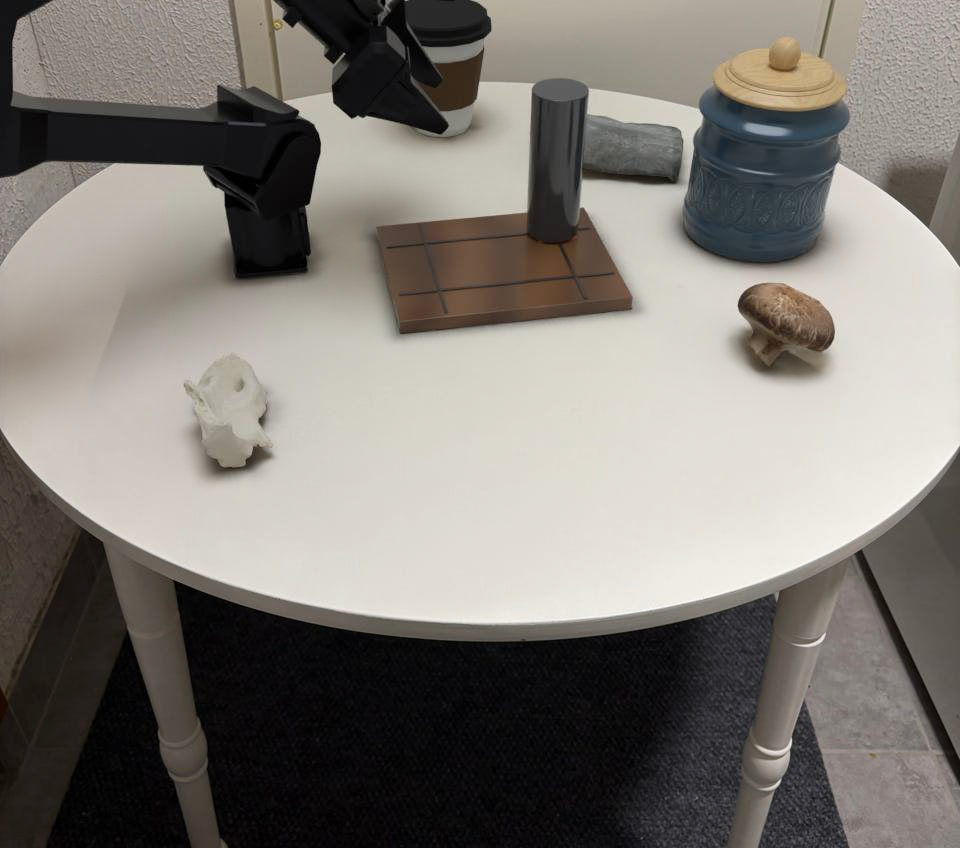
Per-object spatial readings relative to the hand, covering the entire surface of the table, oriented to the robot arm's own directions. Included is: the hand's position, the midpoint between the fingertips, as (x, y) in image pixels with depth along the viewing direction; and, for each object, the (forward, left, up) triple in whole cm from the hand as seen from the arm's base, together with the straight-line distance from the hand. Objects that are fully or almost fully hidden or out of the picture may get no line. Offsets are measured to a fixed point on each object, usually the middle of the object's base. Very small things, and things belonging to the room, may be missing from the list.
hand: (442, 106), depth 89 cm
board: (+4, -7, -13) cm, 15 cm away
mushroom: (+24, -23, -13) cm, 35 cm away
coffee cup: (+4, +24, -13) cm, 28 cm away
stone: (+20, +13, -13) cm, 27 cm away
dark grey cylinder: (+10, -2, -11) cm, 15 cm away
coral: (-20, -25, -13) cm, 34 cm away
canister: (+29, -4, -13) cm, 32 cm away
